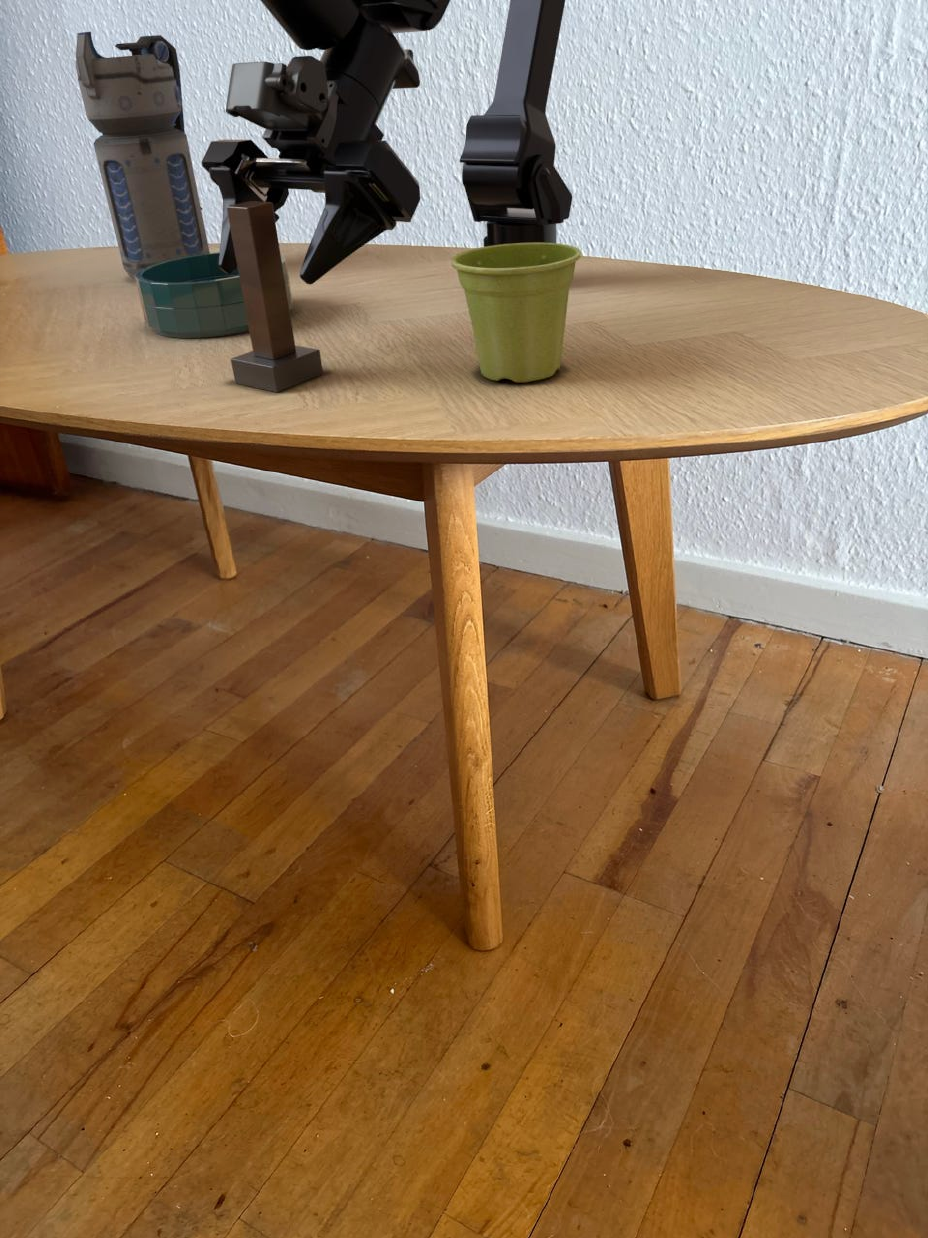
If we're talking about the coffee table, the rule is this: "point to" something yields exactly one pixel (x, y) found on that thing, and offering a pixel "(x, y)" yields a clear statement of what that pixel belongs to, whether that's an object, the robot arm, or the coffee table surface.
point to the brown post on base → (266, 305)
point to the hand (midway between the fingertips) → (263, 275)
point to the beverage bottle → (142, 150)
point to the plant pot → (518, 306)
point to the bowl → (195, 297)
